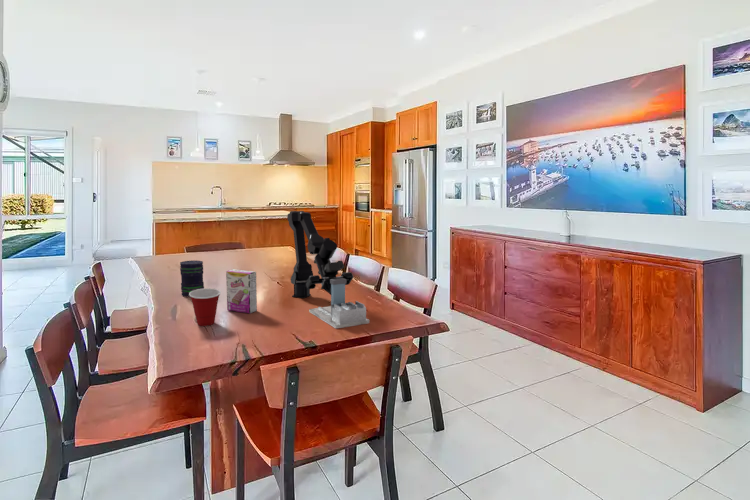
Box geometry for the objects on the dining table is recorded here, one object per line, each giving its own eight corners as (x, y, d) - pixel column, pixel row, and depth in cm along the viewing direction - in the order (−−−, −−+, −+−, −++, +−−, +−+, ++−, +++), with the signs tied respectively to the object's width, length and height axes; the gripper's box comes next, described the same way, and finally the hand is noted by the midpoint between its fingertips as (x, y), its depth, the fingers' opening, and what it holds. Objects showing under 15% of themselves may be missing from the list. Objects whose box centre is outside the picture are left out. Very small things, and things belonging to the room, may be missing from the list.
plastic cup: (191, 330, 152) (190, 296, 150) (188, 321, 161) (187, 289, 159) (224, 326, 157) (223, 293, 155) (219, 318, 166) (218, 287, 164)
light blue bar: (329, 313, 169) (329, 279, 168) (342, 311, 172) (342, 277, 170) (338, 318, 163) (338, 282, 161) (351, 316, 166) (352, 281, 164)
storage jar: (208, 293, 203) (207, 261, 201) (190, 297, 195) (188, 264, 193) (195, 290, 208) (194, 259, 206) (176, 294, 200) (175, 262, 198)
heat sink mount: (309, 312, 176) (309, 294, 175) (340, 307, 183) (340, 290, 182) (335, 328, 156) (335, 308, 155) (369, 323, 163) (369, 303, 162)
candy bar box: (226, 311, 175) (225, 271, 173) (234, 307, 180) (233, 268, 178) (250, 314, 172) (249, 273, 169) (257, 310, 176) (256, 271, 174)
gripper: (308, 255, 167) (320, 289, 159) (351, 252, 177) (364, 284, 169) (301, 272, 175) (312, 305, 167) (342, 268, 185) (354, 299, 177)
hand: (336, 298), depth 170 cm, fingers closed, pressing on light blue bar
